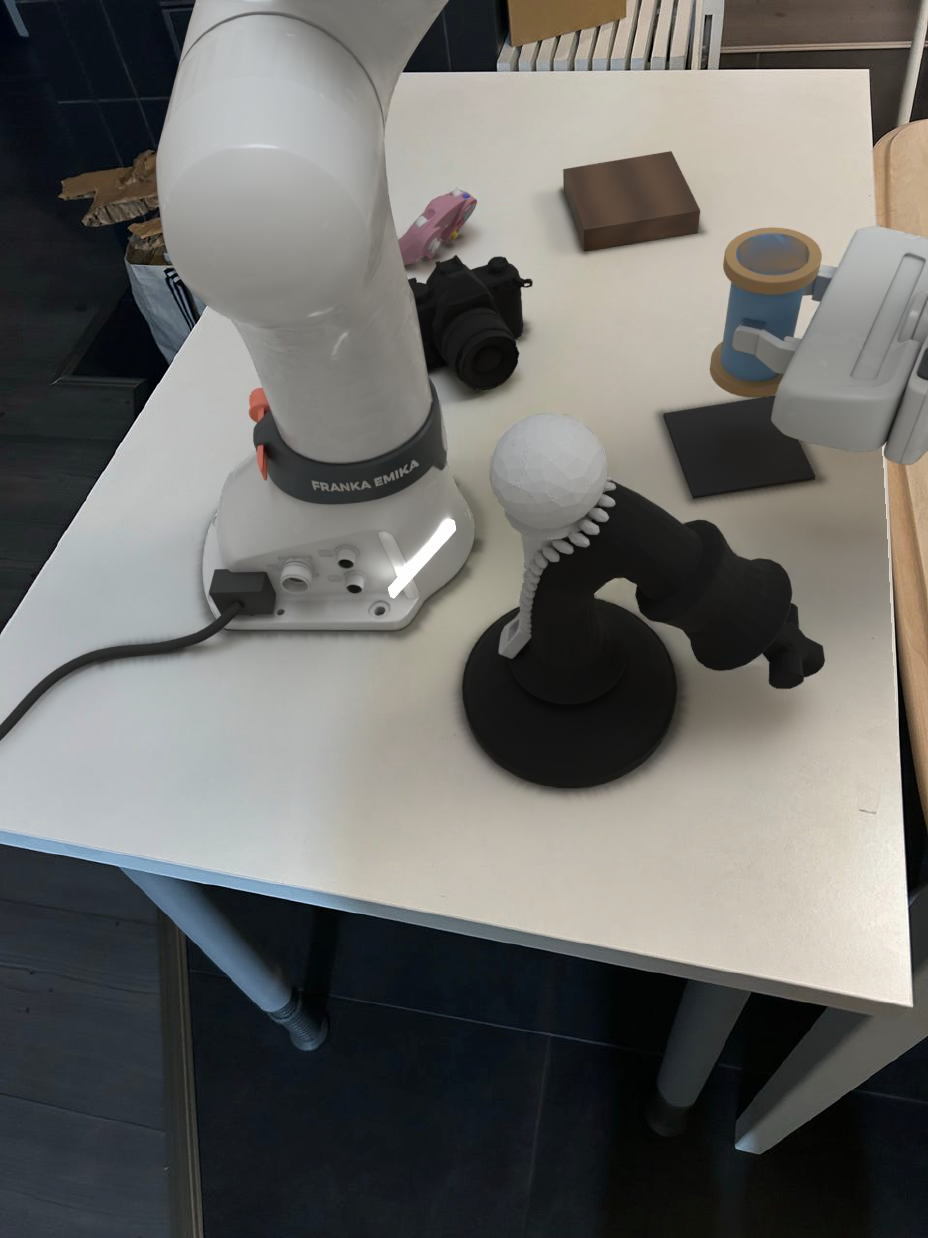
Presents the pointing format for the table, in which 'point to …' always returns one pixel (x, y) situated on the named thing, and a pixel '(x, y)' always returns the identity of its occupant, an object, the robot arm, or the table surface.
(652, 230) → the platform
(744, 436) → the coaster
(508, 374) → the film camera
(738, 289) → the spool
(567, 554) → the sculpture
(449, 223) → the pink toy car
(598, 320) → the table surface
